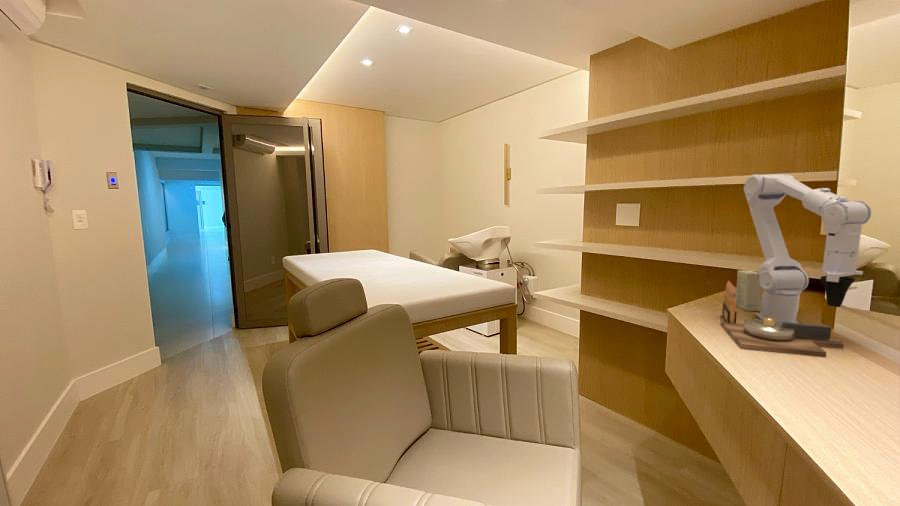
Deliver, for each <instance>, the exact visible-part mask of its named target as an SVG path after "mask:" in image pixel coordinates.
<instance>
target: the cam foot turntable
mask: <svg viewBox="0 0 900 506" xmlns="http://www.w3.org/2000/svg"><path fill="white" fill-rule="evenodd" d="M775 320H776V319H775V318H772V317H763V320H762V319H746V320H745V321H744V322H743V323H744V331H745V332H746V333H748V334H751V335H753V336H757V337H761V338H765V339H771V340H792V339H794V336H797V337H808V338H820V339H830V338H831V336H832V327H831V326H830V325H827V324H826V325H825V324H814V323H813V324H812V323H801V322H798V323H788V322H782V323H779V322H775Z"/></svg>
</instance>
